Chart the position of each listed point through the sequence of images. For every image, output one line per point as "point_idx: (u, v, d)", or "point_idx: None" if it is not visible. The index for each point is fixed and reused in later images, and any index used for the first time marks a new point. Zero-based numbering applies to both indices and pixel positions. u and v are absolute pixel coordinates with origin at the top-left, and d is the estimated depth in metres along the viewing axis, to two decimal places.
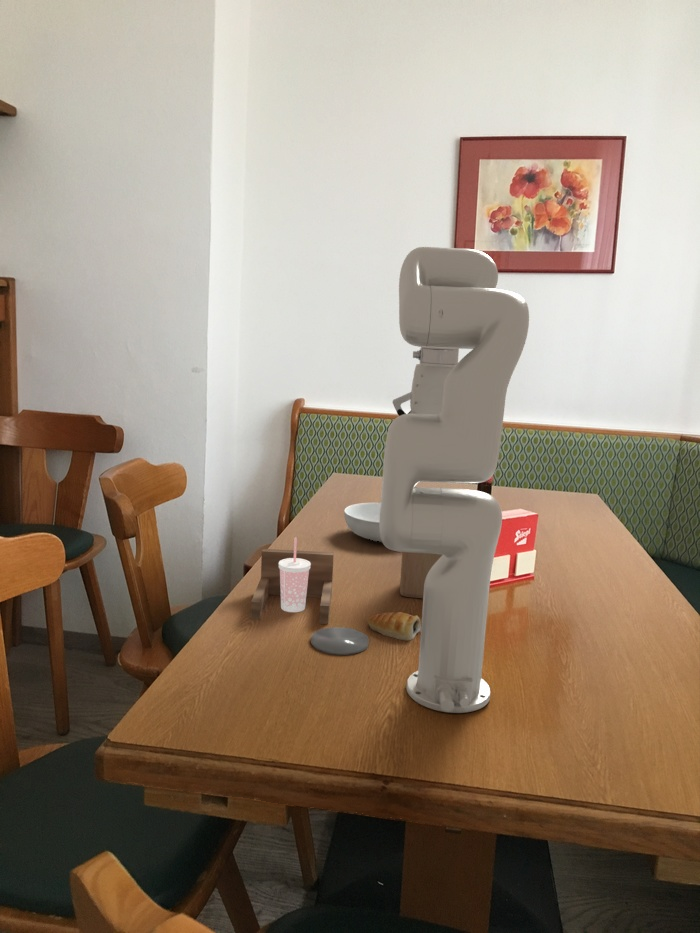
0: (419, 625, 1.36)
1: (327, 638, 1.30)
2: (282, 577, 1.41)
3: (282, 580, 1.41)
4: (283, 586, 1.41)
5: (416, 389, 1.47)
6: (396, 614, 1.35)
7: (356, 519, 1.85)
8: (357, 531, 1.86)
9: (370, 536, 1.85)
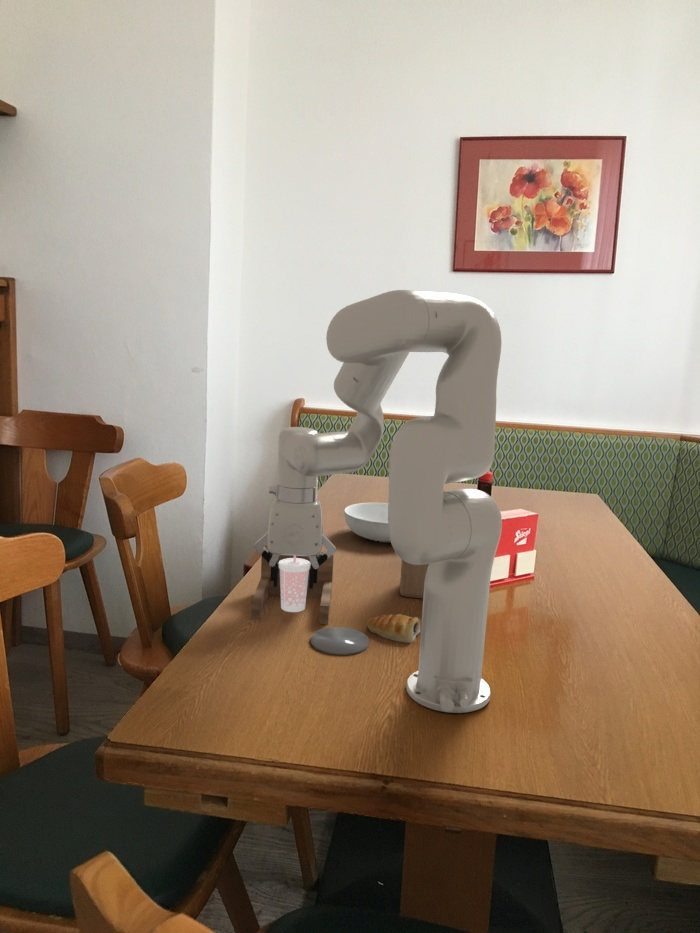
0: (419, 627, 1.35)
1: (327, 638, 1.30)
2: (282, 577, 1.41)
3: (282, 580, 1.41)
4: (283, 586, 1.41)
5: (272, 528, 1.39)
6: (396, 616, 1.34)
7: (356, 519, 1.85)
8: (357, 530, 1.86)
9: (370, 536, 1.85)
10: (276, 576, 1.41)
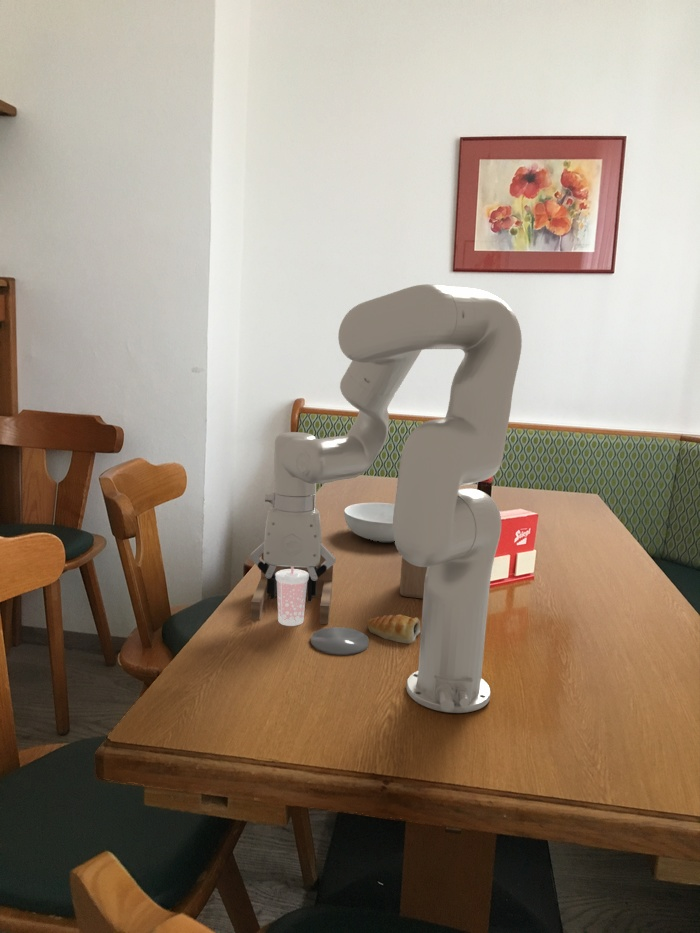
0: (419, 627, 1.35)
1: (327, 638, 1.30)
2: (279, 589, 1.35)
3: (279, 592, 1.35)
4: (280, 599, 1.35)
5: (268, 538, 1.32)
6: (396, 617, 1.33)
7: (356, 519, 1.85)
8: (357, 531, 1.86)
9: (370, 536, 1.85)
10: (273, 588, 1.35)
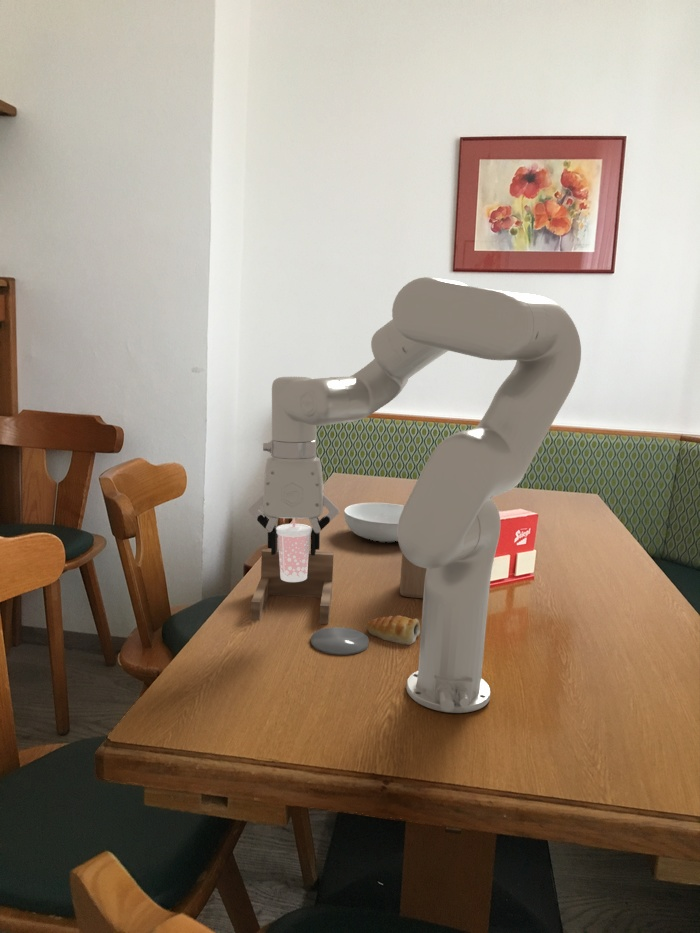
0: (418, 628, 1.34)
1: (327, 638, 1.30)
2: (280, 543, 1.28)
3: (280, 547, 1.28)
4: (282, 554, 1.28)
5: (267, 488, 1.25)
6: (396, 618, 1.33)
7: (356, 519, 1.85)
8: (357, 531, 1.86)
9: (370, 536, 1.85)
10: (274, 542, 1.28)
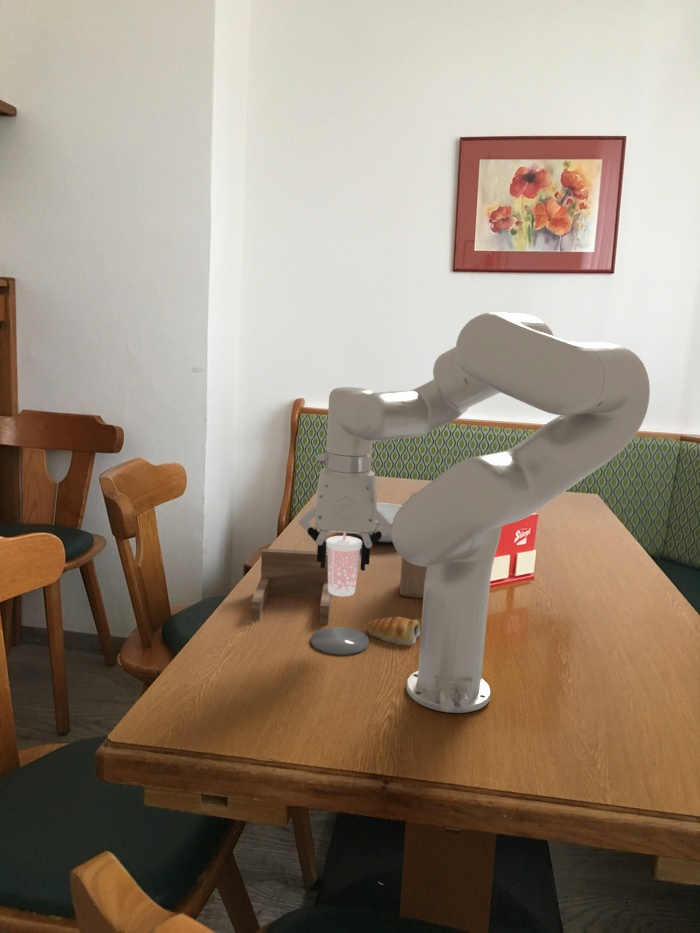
0: (418, 629, 1.34)
1: (327, 638, 1.30)
2: (330, 557, 1.25)
3: (330, 560, 1.25)
4: (332, 567, 1.25)
5: (320, 501, 1.22)
6: (396, 619, 1.32)
7: None
8: None
9: None
10: (324, 556, 1.25)
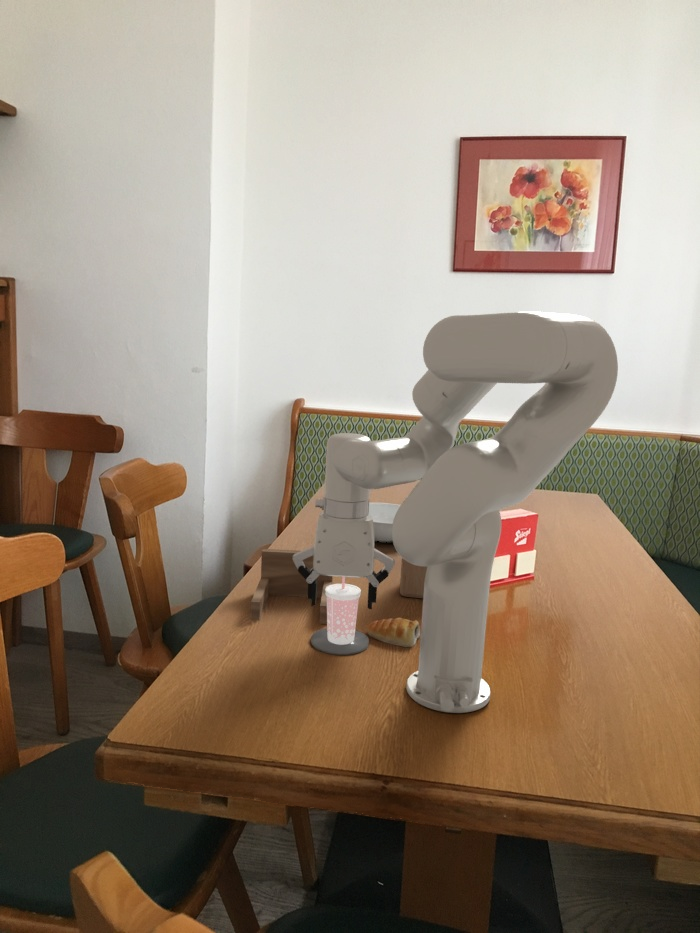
0: (418, 630, 1.33)
1: (327, 638, 1.30)
2: (330, 605, 1.27)
3: (329, 609, 1.27)
4: (331, 616, 1.27)
5: (318, 546, 1.24)
6: (396, 620, 1.32)
7: None
8: None
9: None
10: (314, 594, 1.27)
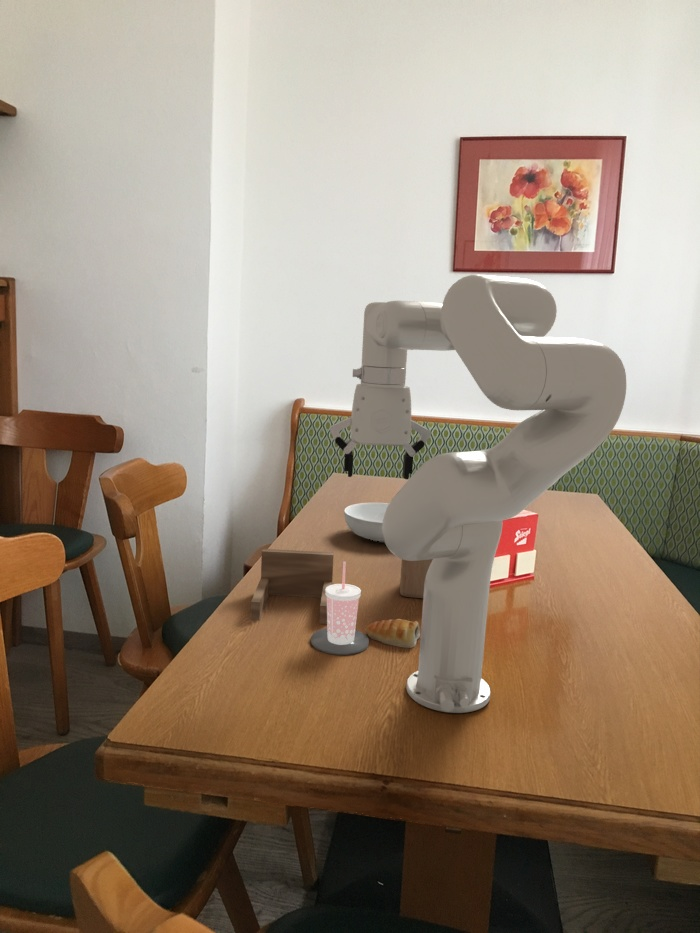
0: (418, 631, 1.33)
1: (327, 638, 1.30)
2: (330, 606, 1.27)
3: (330, 609, 1.27)
4: (331, 616, 1.27)
5: (357, 414, 1.25)
6: (396, 621, 1.32)
7: (356, 519, 1.85)
8: (357, 531, 1.86)
9: (370, 536, 1.85)
10: (351, 464, 1.28)
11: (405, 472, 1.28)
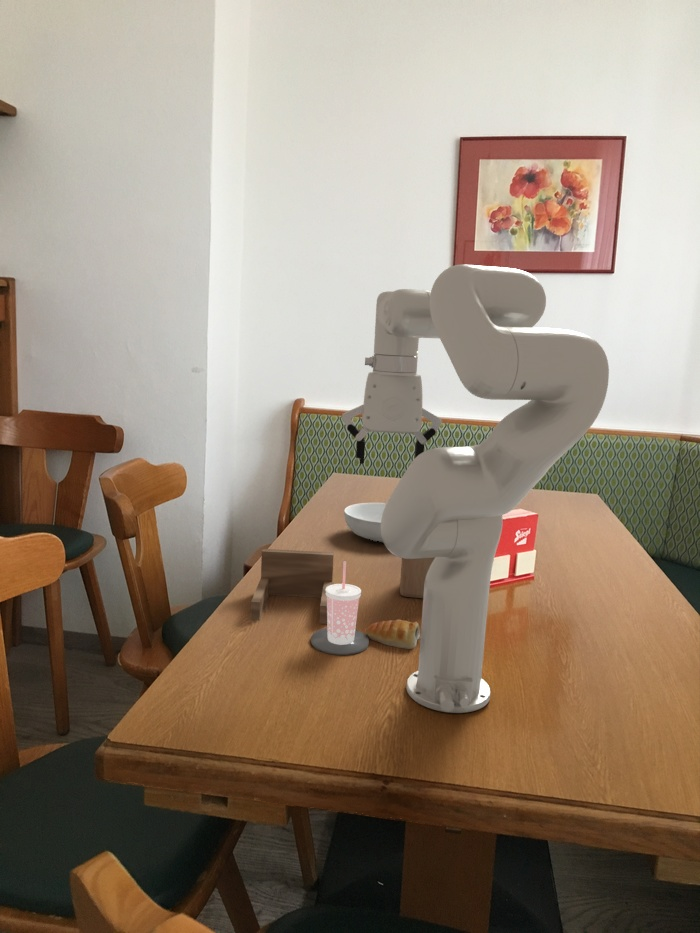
0: (418, 631, 1.33)
1: (327, 638, 1.30)
2: (330, 606, 1.27)
3: (330, 609, 1.27)
4: (331, 616, 1.27)
5: (368, 401, 1.27)
6: (396, 622, 1.31)
7: (356, 519, 1.85)
8: (357, 531, 1.86)
9: (370, 536, 1.85)
10: (363, 451, 1.30)
11: None
